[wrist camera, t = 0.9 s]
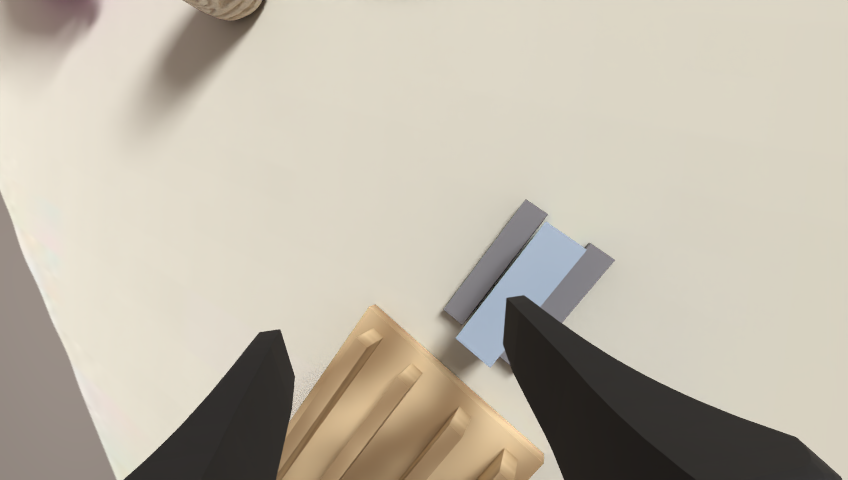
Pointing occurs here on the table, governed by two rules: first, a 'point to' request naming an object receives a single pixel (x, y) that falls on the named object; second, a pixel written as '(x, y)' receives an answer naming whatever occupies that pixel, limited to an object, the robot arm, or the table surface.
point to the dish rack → (399, 418)
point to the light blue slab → (520, 289)
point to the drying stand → (504, 253)
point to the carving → (226, 7)
